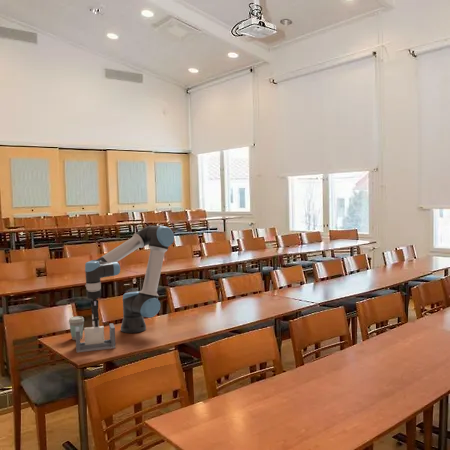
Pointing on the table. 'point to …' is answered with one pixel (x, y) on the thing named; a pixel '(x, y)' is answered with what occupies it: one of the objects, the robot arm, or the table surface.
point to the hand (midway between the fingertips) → (95, 328)
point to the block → (94, 335)
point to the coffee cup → (76, 322)
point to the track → (106, 345)
